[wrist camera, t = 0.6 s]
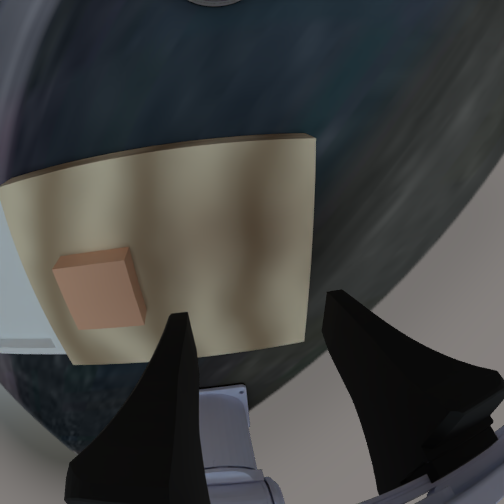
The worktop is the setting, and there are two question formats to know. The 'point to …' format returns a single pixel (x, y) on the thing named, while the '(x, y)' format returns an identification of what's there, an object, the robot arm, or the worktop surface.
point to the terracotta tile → (101, 289)
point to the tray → (21, 305)
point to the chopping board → (178, 240)
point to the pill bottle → (214, 2)
